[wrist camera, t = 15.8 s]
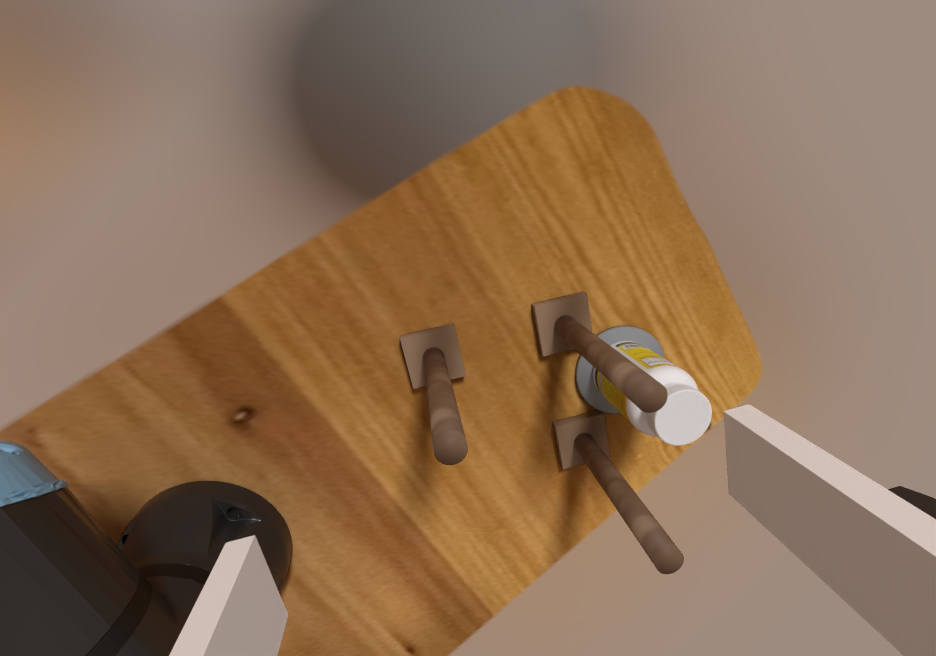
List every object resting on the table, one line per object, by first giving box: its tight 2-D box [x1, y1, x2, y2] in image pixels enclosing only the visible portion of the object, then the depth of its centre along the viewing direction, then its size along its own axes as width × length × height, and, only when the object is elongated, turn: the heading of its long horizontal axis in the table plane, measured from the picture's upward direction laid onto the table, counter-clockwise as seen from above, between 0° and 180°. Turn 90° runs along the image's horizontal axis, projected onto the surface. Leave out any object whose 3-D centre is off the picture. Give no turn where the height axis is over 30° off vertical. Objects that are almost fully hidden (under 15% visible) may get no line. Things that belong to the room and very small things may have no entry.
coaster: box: [575, 326, 665, 414], centre depth 48 cm, size 9×9×1 cm
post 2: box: [553, 410, 684, 574], centre depth 41 cm, size 5×5×18 cm
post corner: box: [532, 292, 668, 413], centre depth 38 cm, size 5×5×18 cm
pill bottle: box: [593, 341, 712, 445], centre depth 42 cm, size 6×6×11 cm
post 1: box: [400, 323, 468, 465], centre depth 37 cm, size 5×5×18 cm
